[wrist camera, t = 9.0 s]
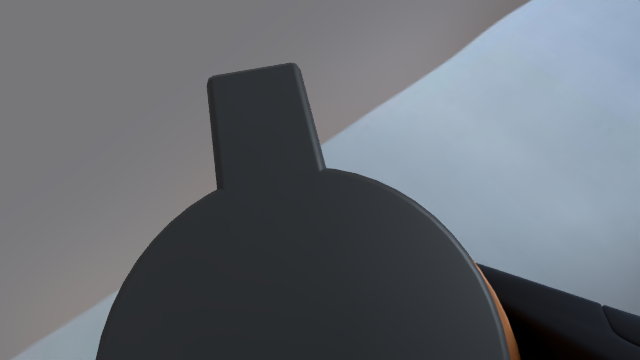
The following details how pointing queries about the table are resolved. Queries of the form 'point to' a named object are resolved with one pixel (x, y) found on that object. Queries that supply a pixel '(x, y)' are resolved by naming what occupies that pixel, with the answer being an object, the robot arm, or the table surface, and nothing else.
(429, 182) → the table surface
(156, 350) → the sanitizer bottle
